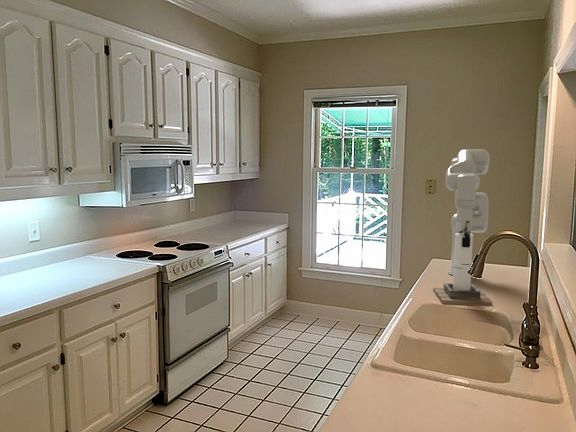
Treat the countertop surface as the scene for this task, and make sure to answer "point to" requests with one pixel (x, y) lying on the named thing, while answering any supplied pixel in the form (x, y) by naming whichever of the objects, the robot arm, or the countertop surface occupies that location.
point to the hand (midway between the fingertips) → (463, 245)
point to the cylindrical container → (462, 264)
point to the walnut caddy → (461, 296)
